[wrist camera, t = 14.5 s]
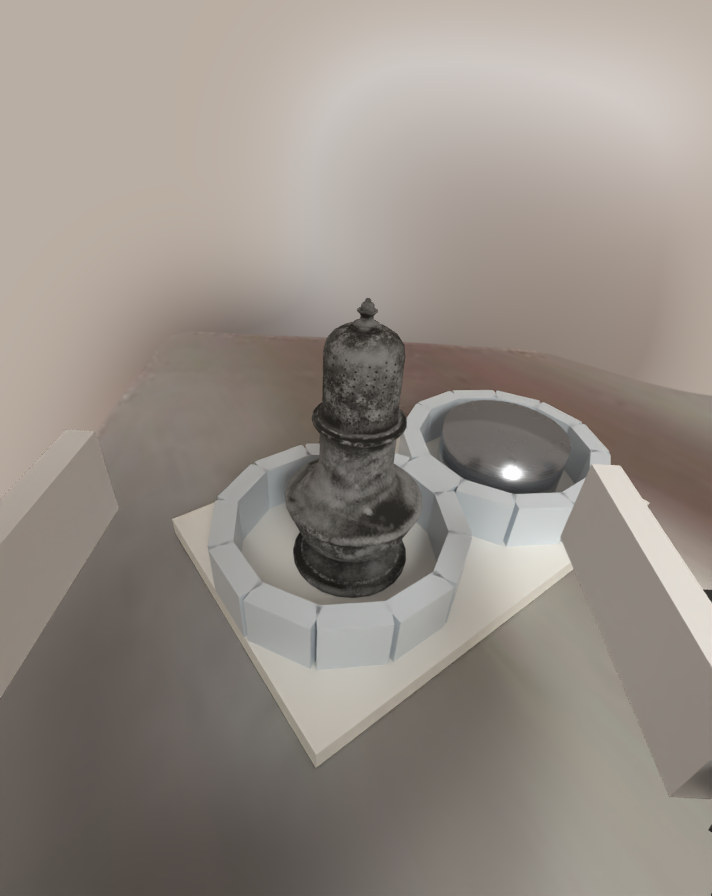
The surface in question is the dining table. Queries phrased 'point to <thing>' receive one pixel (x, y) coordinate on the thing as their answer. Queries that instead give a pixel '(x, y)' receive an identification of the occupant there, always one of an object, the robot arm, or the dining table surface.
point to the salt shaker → (356, 467)
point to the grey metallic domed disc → (504, 446)
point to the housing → (405, 601)
